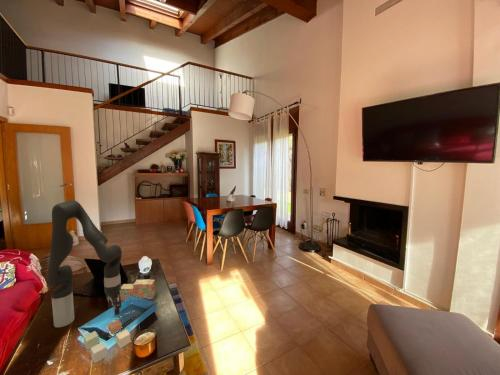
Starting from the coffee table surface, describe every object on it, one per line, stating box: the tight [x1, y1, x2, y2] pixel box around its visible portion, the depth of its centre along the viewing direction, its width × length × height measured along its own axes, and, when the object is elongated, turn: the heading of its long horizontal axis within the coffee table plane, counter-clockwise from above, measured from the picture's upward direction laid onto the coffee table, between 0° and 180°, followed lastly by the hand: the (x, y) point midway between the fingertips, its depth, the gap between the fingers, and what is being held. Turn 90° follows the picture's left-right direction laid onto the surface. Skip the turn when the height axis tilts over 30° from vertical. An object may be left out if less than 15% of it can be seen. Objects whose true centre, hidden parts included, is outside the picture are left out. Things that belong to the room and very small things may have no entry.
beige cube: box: [90, 341, 108, 364], centre depth 106 cm, size 5×5×5 cm
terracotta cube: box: [107, 319, 123, 334], centre depth 121 cm, size 5×5×5 cm
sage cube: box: [83, 330, 100, 351], centre depth 113 cm, size 5×5×5 cm
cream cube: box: [115, 328, 131, 349], centre depth 114 cm, size 5×5×5 cm
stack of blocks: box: [118, 279, 156, 302], centre depth 151 cm, size 21×6×12 cm, turn 94°
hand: (114, 311), depth 120 cm, fingers open, 8 cm apart
